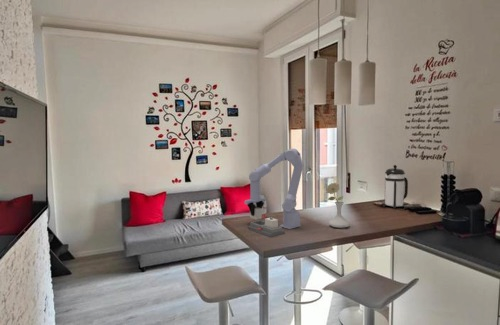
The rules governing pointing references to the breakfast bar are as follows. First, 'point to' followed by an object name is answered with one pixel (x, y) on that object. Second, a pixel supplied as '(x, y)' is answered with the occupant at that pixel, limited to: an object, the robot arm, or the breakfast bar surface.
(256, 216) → the plug
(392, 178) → the coffee press
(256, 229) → the grey compartment holder
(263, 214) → the ink cartridge box
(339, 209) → the flower in vase
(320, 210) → the breakfast bar surface
